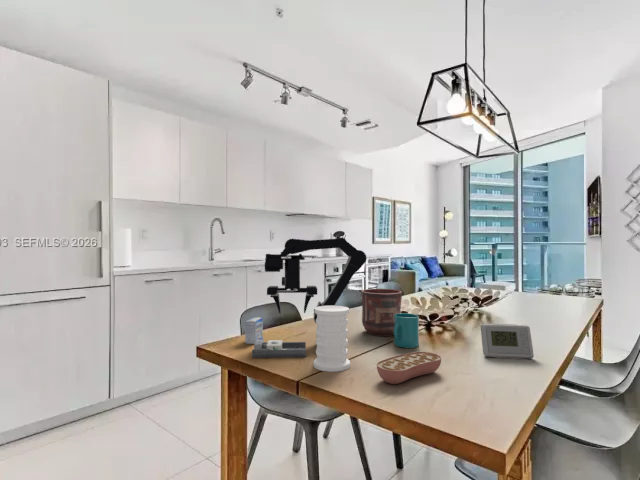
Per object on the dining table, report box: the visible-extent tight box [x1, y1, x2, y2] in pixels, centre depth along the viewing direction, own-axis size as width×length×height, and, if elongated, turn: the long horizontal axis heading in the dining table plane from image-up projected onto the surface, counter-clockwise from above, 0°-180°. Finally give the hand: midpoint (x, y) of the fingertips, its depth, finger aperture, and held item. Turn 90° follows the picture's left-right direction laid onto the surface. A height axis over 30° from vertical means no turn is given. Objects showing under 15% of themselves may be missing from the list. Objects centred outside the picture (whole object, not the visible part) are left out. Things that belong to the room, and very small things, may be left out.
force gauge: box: [263, 339, 283, 349], centre depth 130 cm, size 6×9×2 cm
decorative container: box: [312, 305, 351, 373], centre depth 118 cm, size 12×12×18 cm
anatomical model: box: [376, 351, 442, 385], centre depth 108 cm, size 23×10×5 cm, turn 126°
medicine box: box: [244, 316, 264, 345], centre depth 146 cm, size 8×4×9 cm, turn 168°
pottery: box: [361, 288, 403, 337], centre depth 161 cm, size 18×18×18 cm
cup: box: [393, 312, 420, 349], centre depth 140 cm, size 9×12×11 cm
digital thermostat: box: [480, 323, 535, 360], centre depth 128 cm, size 16×9×11 cm, turn 70°
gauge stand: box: [251, 338, 307, 359], centre depth 131 cm, size 18×10×4 cm, turn 93°
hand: (292, 313), depth 141 cm, fingers open, 9 cm apart
